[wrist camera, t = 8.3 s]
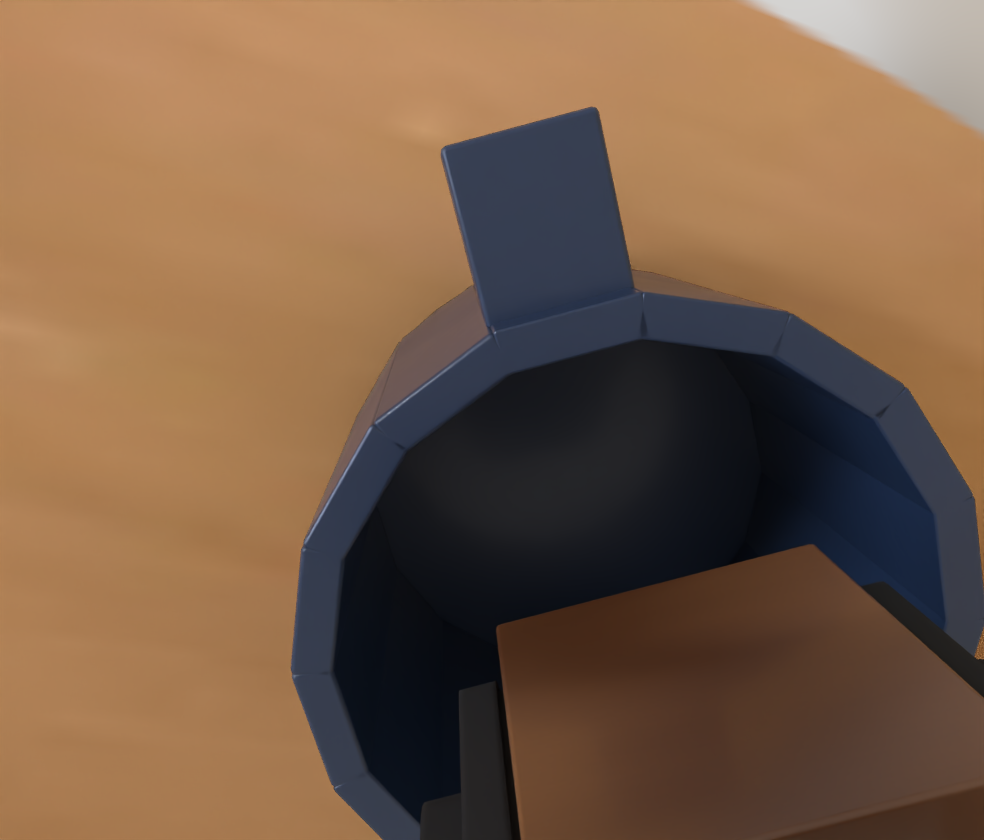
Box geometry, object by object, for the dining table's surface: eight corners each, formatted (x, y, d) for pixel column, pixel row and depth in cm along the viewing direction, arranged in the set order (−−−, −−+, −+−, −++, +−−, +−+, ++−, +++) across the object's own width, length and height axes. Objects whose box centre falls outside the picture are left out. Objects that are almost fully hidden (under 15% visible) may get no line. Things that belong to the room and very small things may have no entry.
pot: (444, 786, 23) (445, 1096, 15) (261, 221, 19) (122, 227, 11) (817, 689, 23) (1020, 948, 15) (718, 98, 19) (927, 11, 11)
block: (568, 880, 12) (636, 1258, 8) (494, 623, 11) (526, 900, 6) (855, 806, 12) (1089, 1144, 7) (813, 540, 11) (1060, 763, 6)
